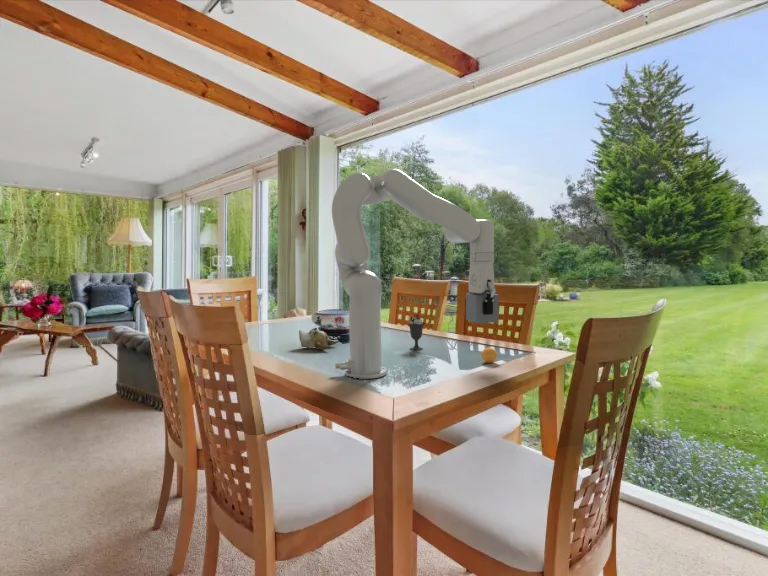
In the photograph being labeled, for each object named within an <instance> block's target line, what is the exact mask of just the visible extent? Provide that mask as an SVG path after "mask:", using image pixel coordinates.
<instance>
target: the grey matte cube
mask: <svg viewBox="0 0 768 576" xmlns="http://www.w3.org/2000/svg"><path fill="white" fill-rule="evenodd" d="M487 296H488V295H486V297H487ZM493 299H494V301H493V314H487V315H484V314H483V302H484V298H483V295H482V294H475V293H470V292H468V293H466V294H465V320H466V321H468V322H471V323H474V324H488V323H489V324H490V323H493V324H494V323H499V307H500V306H499V301H500V300H499V299H500V298H499V294H498V293H497V294H496V293H495V295H494V298H493Z"/></svg>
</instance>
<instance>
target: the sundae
mask: <svg viewBox="0 0 768 576" xmlns="http://www.w3.org/2000/svg"><path fill="white" fill-rule="evenodd" d="M420 312H421V310H418V312H417V314H416V315H413V316H410V321H408V322H407V325H408V326H409V333H410V336H411V338H412V340H414V346H413V347H410V348H409V350H410V351H424V348H423V347H420V346H419V340H420V339H421V338H422V336H423V329H424V326H425V324H426V322H423V320H422V318H421V316H420Z"/></svg>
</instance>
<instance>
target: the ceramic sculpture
mask: <svg viewBox="0 0 768 576" xmlns="http://www.w3.org/2000/svg"><path fill="white" fill-rule="evenodd" d="M298 339H299V342H300V346H301V348H302V347H308V348H311V347H315V348H318V349H317V350H321V349H325V350H327V349H330V348H331V346H333V345H336V344H338V343H339V342H340V341H339V340H332V339H331V338H329V336H328V334H327V332H325V331H323V330H318V328H317V327H314V328H312V329H310V330H309V332H308V331H303V330H298Z"/></svg>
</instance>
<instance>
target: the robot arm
mask: <svg viewBox="0 0 768 576" xmlns="http://www.w3.org/2000/svg"><path fill="white" fill-rule="evenodd" d="M391 200H392V201H393V202H394V203H397V205H399V206H400V207H402V208H403V209H404V210H406V211H407V212H408V213H410V214H411V215H413V216H414V217H416V218H418V219H421V220H424V221H429V222H433V223H435V224H438V225H440V226H442V227H443V228H444V230H443V234H444V237H445V239H446V240H447V241H448V242H451V243H452V244H463V243H464V244H465V243H466V244H467V243H469V263H470V264H469V271H468V293H475V294H482V295H483V298H484V302H483V314H484V315H487V314H493V301H494V299H493V298H494V295H495V294H496V292H497V290H496V288H495V271H494V270H495V269H494V263H495V256H494V255H495V246H494V245H495V229H494V228H495V225H494V221H493V220H491V219H477V218H475V217H473V216H472V215H471V214H470V213H469V212H467V211H465V210H464V209H463V208H461V207H460V206H458V205H457V204H455V203H452V202H451V201H449V200H446V199H444V198H442V197H440V196H438V195H436V194H434V193H432V192H431V191H429V190H428V189H426V188H425V187H424V186H422V185H421V184H419V183H418V182H417V181H416V180H414V179H413V178H411V177H410V176H409V175H407V174H406V173H405V172H403V171H402V170H400V169H397V168H390V169H388V170H386V171H384V172H383V173H382V174H378V175H375V176H368V175H367V174H365V173H364V172H353V173H351V174H349V175H348V176H347V177H346V178H345V179H344V180H343V181H342V182H341V183H340V184H339V186H338V187H337V189H336V191H335V193H334V195H333V199H332V204H331V217H332V223H333V228H334V232H335V237H336V240H337V244H336V245H335V250H334V256H335V260H336V264H337V268H338V272H339V275H340V278H341V279H340V280H341V284H342V286H343V289H344V291H345V293H346V294H347V295H348V296H349V301H348V302H349V304H348V322H349V325H348V326H349V354H350V357H348V358H347V359H348V360H345V362H339V361H338V362H335V363H334V368H335V370H340V371H344V370H345V376H347V377H348V376H350V377H349V378H351V377H353V378H352V379H356V378H359V379H358V380H370V379H371V380H372V379H377V378H381V377H384V376H386V375H387V374H388V371H387V370H388V369H387V368H386V367H385V366H383V364H382V326H381V325H382V324H381V321H382V320H381V305H382V304H381V303H382V295H383V294H382V292H383V291H382V289H383V288H382V287H383V286H382V283H381V279H380V278H379V277H378V275H377V274H375V273H374V272H372V271H370V268H369V265H368V261H369V259H370V256H371V249H370V245H369V242H368V239H367V234H366V230H365V228H364V222H363V218H362V206H366V205H371V204H379V203H383V202H389V201H391ZM486 295H488V296H487V297H486Z"/></svg>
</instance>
